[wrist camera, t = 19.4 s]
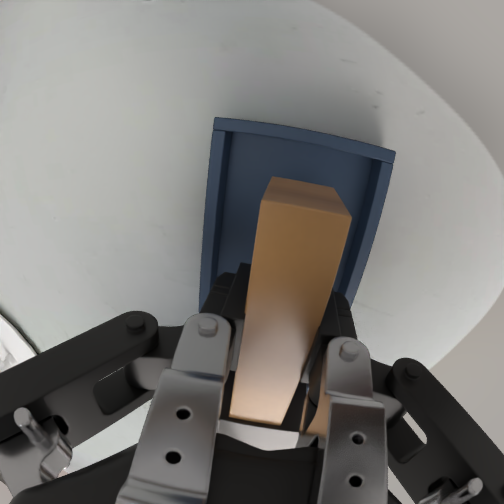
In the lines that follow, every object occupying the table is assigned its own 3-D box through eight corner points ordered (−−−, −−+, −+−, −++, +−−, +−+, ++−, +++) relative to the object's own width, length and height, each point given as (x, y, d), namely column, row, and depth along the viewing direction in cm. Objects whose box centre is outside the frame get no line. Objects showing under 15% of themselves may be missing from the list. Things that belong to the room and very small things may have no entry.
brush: (240, 170, 10) (212, 194, 7) (363, 194, 9) (396, 229, 6) (215, 409, 16) (201, 457, 13) (285, 422, 15) (281, 471, 12)
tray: (224, 117, 13) (213, 116, 12) (383, 147, 13) (396, 151, 11) (203, 372, 21) (197, 390, 19) (305, 390, 21) (305, 410, 19)
